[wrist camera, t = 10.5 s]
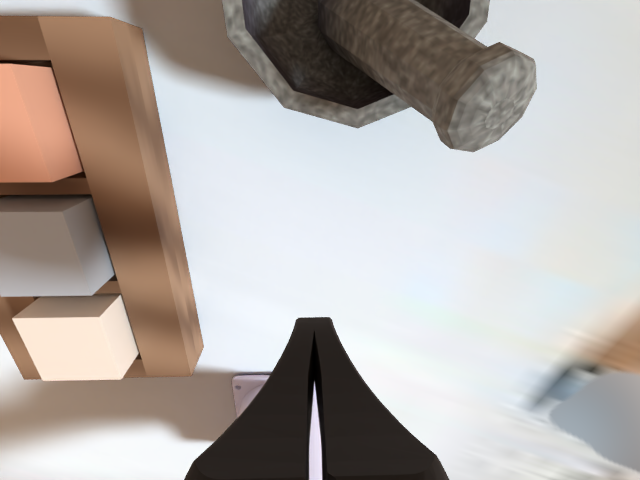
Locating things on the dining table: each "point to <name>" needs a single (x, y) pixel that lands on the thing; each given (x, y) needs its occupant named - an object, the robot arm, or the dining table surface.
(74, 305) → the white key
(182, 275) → the key block
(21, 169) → the terracotta key
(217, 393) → the dining table surface
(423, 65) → the mortar and pestle
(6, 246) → the slate key
